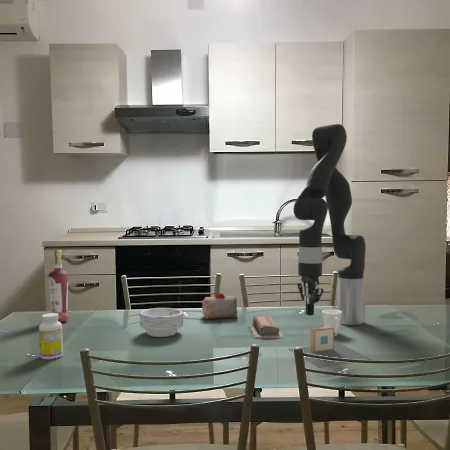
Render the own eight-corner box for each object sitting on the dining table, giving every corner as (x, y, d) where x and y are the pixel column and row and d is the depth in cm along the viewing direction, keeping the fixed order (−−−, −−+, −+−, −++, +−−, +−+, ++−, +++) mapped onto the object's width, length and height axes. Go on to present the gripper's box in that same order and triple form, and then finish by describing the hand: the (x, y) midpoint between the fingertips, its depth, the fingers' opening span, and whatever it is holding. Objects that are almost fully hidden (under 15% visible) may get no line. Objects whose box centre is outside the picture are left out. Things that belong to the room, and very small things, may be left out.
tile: (330, 348, 154) (330, 325, 154) (334, 350, 152) (334, 327, 152) (310, 350, 152) (310, 328, 152) (314, 352, 150) (314, 329, 150)
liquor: (73, 320, 194) (71, 249, 192) (58, 325, 188) (56, 251, 186) (61, 318, 198) (59, 248, 196) (45, 322, 192) (43, 250, 190)
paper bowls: (191, 330, 178) (191, 309, 178) (169, 342, 164) (168, 318, 164) (155, 326, 184) (155, 305, 184) (131, 337, 171) (130, 314, 170)
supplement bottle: (43, 353, 153) (42, 312, 153) (65, 352, 154) (64, 311, 153) (37, 360, 147) (35, 317, 146) (59, 359, 147) (58, 317, 146)
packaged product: (247, 314, 183) (274, 313, 184) (247, 327, 184) (274, 326, 184) (254, 327, 165) (284, 326, 166) (254, 341, 166) (284, 340, 166)
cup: (338, 331, 175) (338, 308, 175) (348, 339, 165) (348, 315, 165) (319, 332, 175) (319, 309, 174) (327, 340, 165) (327, 316, 164)
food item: (203, 320, 193) (203, 295, 192) (201, 315, 201) (201, 291, 200) (238, 319, 195) (238, 294, 194) (235, 314, 203) (235, 290, 202)
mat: (338, 344, 160) (338, 342, 160) (373, 361, 143) (373, 359, 143) (288, 350, 154) (288, 349, 154) (319, 369, 137) (319, 367, 137)
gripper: (331, 262, 153) (331, 318, 153) (310, 258, 165) (309, 309, 166) (310, 263, 150) (309, 320, 151) (289, 259, 162) (289, 311, 163)
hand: (309, 314), depth 158 cm, fingers closed
